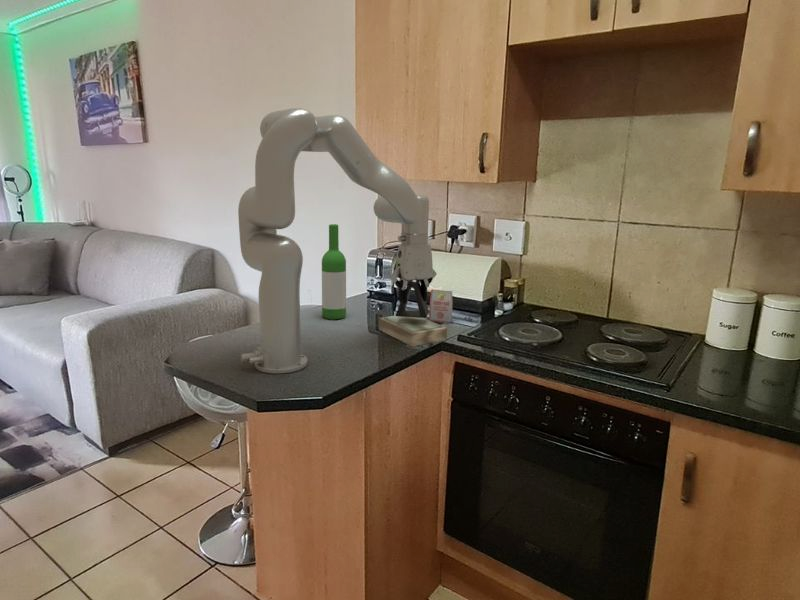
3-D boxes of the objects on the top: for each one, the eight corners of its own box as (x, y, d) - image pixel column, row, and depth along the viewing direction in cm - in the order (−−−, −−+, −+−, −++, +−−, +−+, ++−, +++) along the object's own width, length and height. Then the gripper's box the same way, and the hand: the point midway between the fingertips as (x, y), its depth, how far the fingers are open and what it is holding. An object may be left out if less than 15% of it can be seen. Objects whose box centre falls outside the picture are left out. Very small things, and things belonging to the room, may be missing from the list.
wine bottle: (317, 316, 174) (316, 224, 167) (338, 312, 179) (338, 223, 172) (329, 321, 168) (328, 226, 161) (350, 318, 173) (350, 225, 166)
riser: (411, 346, 146) (411, 332, 145) (379, 329, 161) (379, 316, 160) (446, 340, 152) (447, 326, 151) (412, 324, 167) (412, 312, 166)
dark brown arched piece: (429, 312, 157) (430, 272, 154) (426, 318, 151) (427, 276, 149) (399, 310, 159) (399, 271, 156) (395, 316, 153) (396, 275, 150)
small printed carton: (431, 317, 175) (432, 288, 173) (451, 319, 174) (453, 289, 171) (429, 320, 172) (430, 290, 170) (449, 322, 170) (451, 292, 168)
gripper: (395, 242, 142) (394, 307, 147) (447, 239, 151) (444, 300, 155) (381, 239, 148) (380, 301, 153) (431, 236, 157) (429, 295, 162)
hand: (412, 300), depth 154 cm, fingers closed on dark brown arched piece, 6 cm apart
